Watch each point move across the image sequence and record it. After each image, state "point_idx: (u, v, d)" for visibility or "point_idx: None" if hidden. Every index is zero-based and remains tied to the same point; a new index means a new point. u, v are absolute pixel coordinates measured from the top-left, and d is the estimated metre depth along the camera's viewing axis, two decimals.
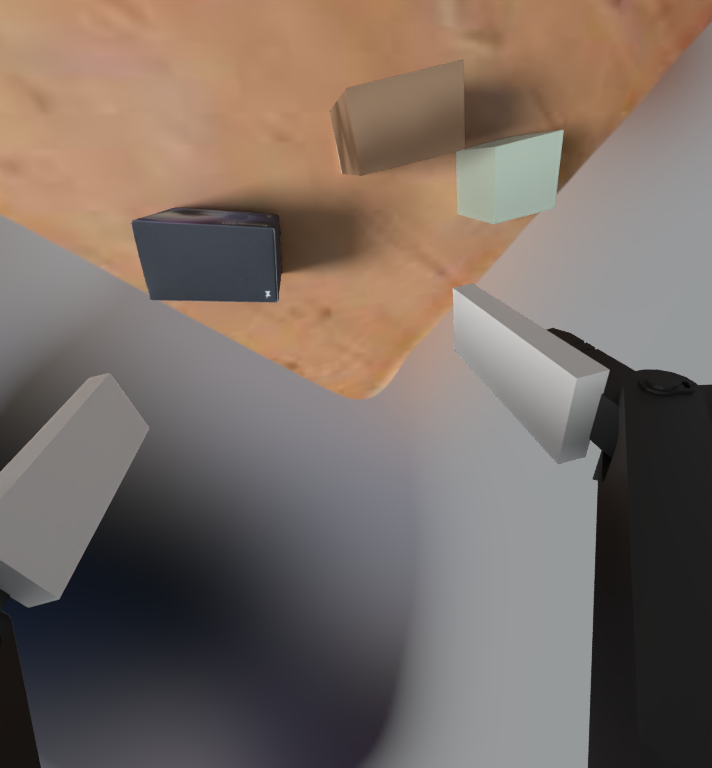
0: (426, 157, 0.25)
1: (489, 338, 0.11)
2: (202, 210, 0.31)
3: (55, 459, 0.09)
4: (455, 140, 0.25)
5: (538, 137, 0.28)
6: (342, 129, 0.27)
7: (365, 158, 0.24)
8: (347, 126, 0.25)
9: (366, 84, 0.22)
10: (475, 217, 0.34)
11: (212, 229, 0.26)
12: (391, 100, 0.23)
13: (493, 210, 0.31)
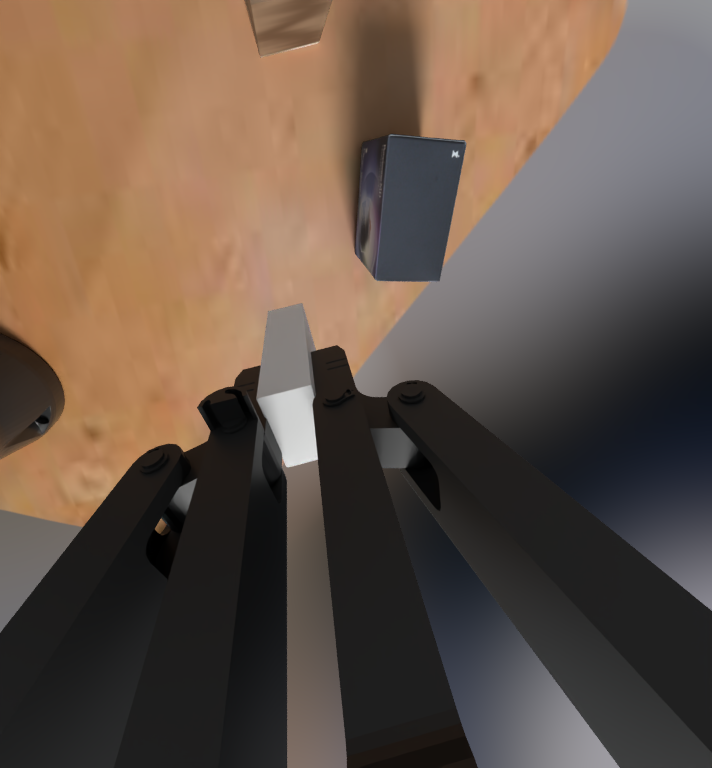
0: None
1: None
2: (360, 223, 0.33)
3: None
4: None
5: None
6: (282, 28, 0.23)
7: None
8: (282, 13, 0.21)
9: None
10: None
11: (386, 208, 0.26)
12: None
13: None
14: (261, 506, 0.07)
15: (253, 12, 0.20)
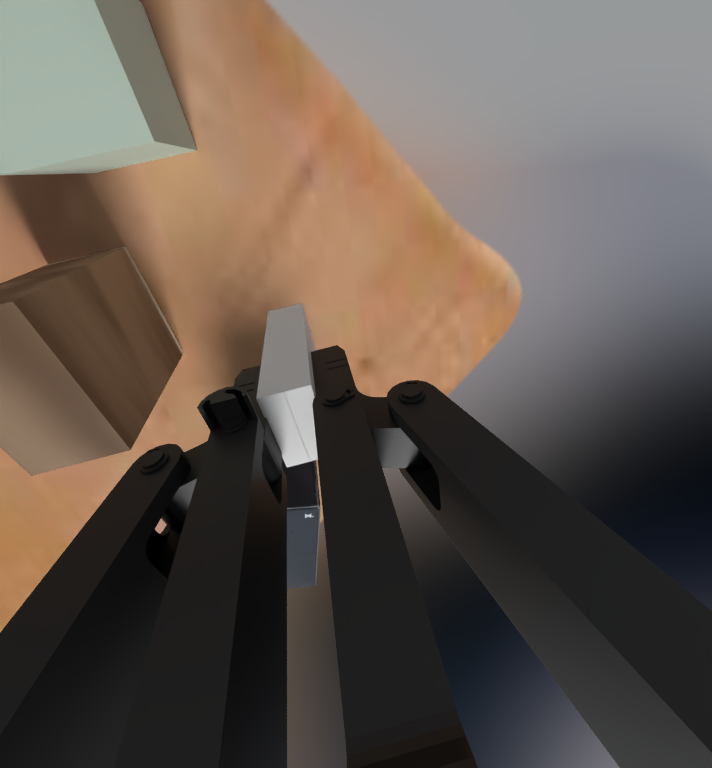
0: (62, 368, 0.14)
1: None
2: None
3: None
4: (9, 323, 0.13)
5: None
6: None
7: (105, 448, 0.17)
8: None
9: (13, 456, 0.16)
10: (175, 147, 0.16)
11: None
12: (12, 427, 0.15)
13: (126, 147, 0.13)
14: (261, 506, 0.07)
15: None
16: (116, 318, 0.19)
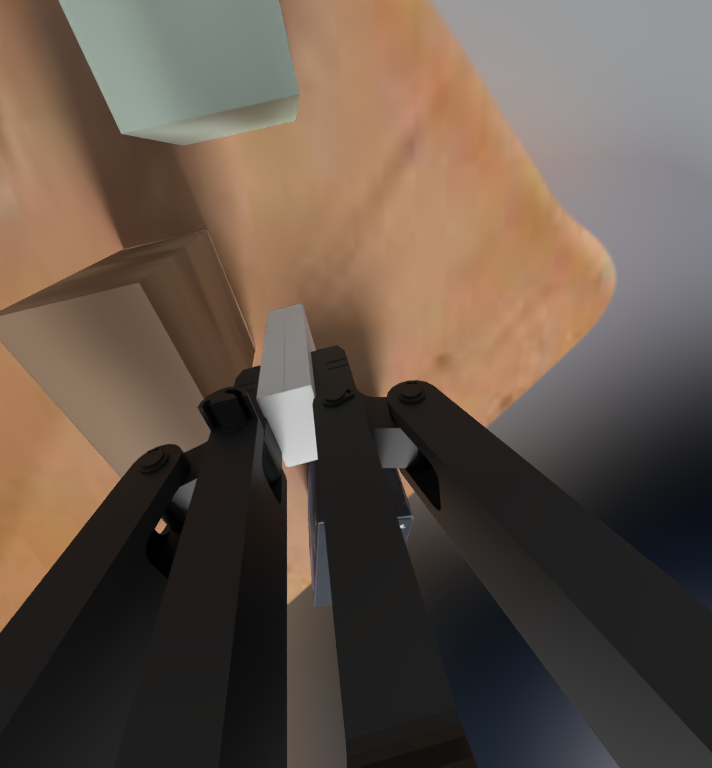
0: (180, 362, 0.12)
1: None
2: None
3: None
4: (130, 309, 0.11)
5: None
6: None
7: None
8: None
9: (109, 462, 0.14)
10: (293, 110, 0.14)
11: (321, 566, 0.23)
12: (114, 429, 0.14)
13: (266, 102, 0.11)
14: (261, 506, 0.07)
15: None
16: (210, 307, 0.17)
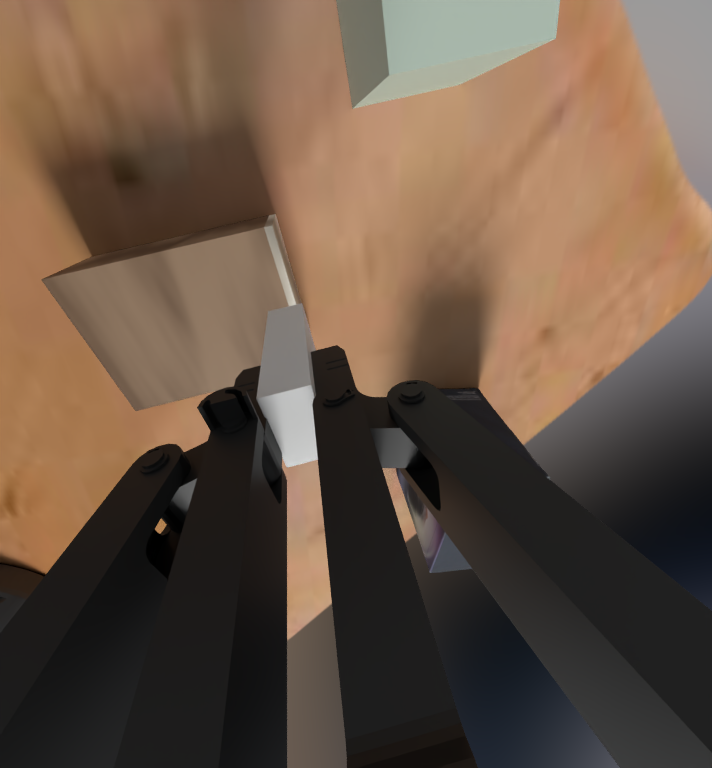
0: (83, 335, 0.17)
1: None
2: None
3: None
4: None
5: None
6: None
7: None
8: None
9: None
10: (497, 66, 0.15)
11: None
12: None
13: (522, 46, 0.12)
14: (261, 506, 0.07)
15: None
16: (186, 309, 0.17)
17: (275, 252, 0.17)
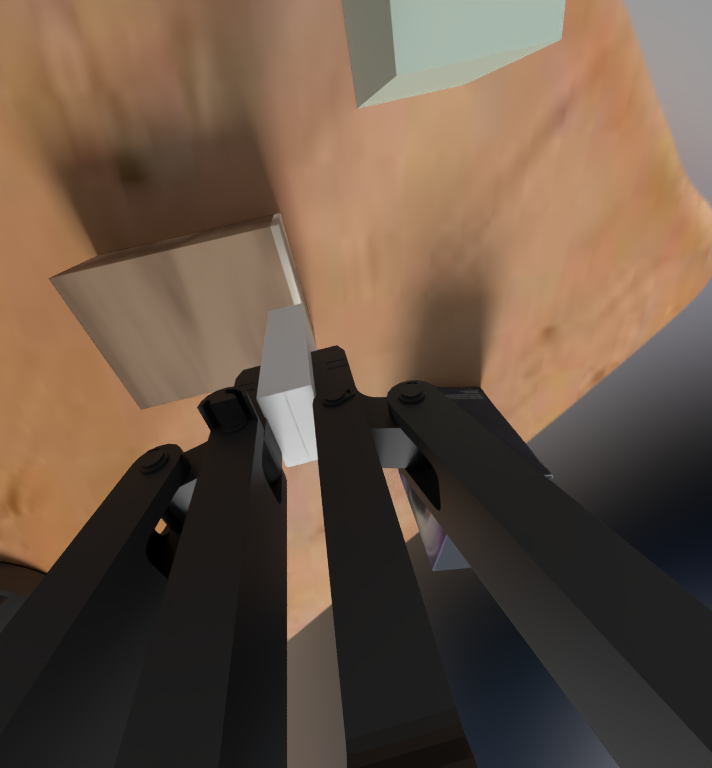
0: (89, 334, 0.18)
1: None
2: None
3: None
4: None
5: None
6: None
7: None
8: None
9: None
10: (501, 66, 0.15)
11: None
12: None
13: (528, 47, 0.12)
14: (261, 506, 0.07)
15: None
16: (192, 308, 0.18)
17: (281, 251, 0.17)
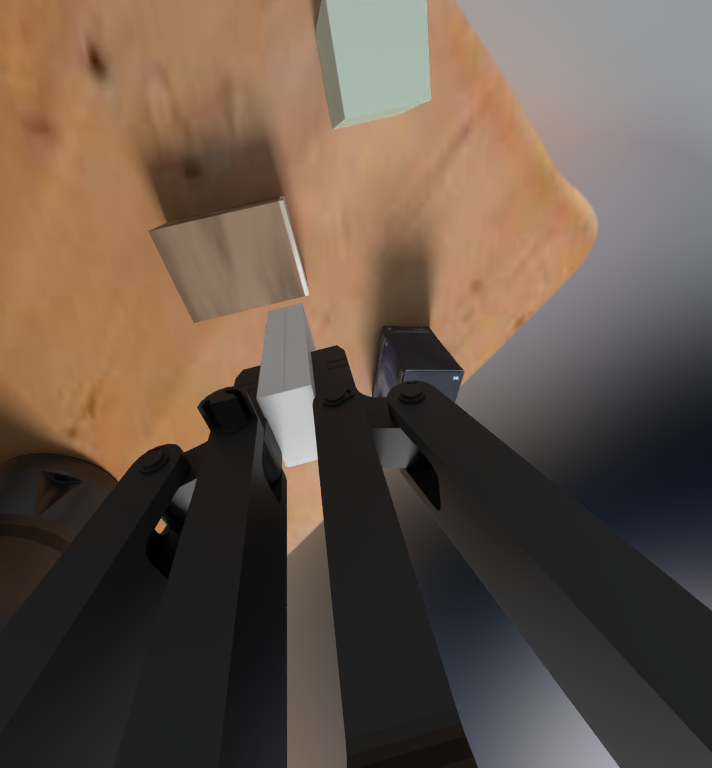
0: (167, 268, 0.29)
1: None
2: (378, 389, 0.41)
3: None
4: None
5: (334, 41, 0.21)
6: None
7: None
8: None
9: None
10: None
11: None
12: None
13: (414, 103, 0.23)
14: (261, 506, 0.07)
15: None
16: (230, 252, 0.29)
17: (285, 217, 0.28)
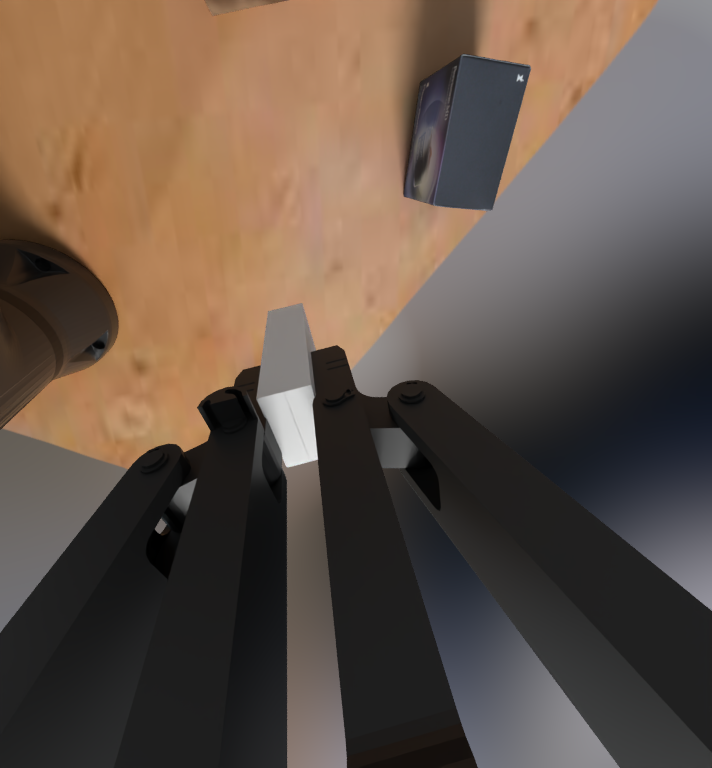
0: None
1: None
2: (415, 159, 0.35)
3: None
4: None
5: None
6: None
7: None
8: (236, 2, 0.28)
9: None
10: None
11: (451, 129, 0.28)
12: None
13: None
14: (261, 506, 0.07)
15: None
16: None
17: None
